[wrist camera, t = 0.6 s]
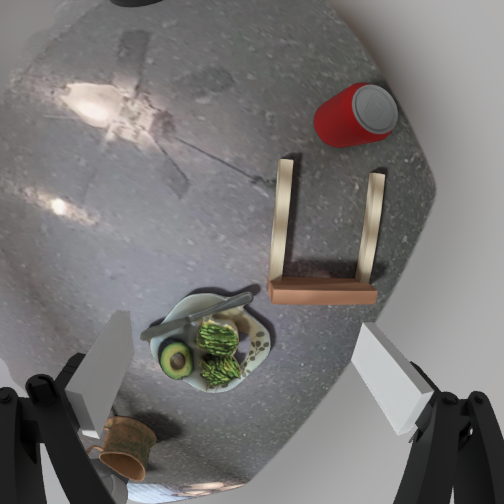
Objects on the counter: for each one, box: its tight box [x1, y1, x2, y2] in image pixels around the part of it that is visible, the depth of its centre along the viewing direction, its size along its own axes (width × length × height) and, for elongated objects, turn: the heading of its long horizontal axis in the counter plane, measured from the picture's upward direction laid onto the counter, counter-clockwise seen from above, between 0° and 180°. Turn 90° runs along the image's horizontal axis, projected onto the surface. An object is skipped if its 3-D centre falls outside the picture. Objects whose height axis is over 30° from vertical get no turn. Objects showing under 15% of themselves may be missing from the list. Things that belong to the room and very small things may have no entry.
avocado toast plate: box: [140, 291, 271, 393], centre depth 40 cm, size 19×18×5 cm
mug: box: [86, 416, 157, 481], centre depth 41 cm, size 12×18×12 cm, turn 40°
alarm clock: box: [90, 459, 129, 504], centre depth 43 cm, size 16×10×18 cm, turn 112°
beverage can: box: [314, 83, 398, 148], centre depth 29 cm, size 7×7×12 cm
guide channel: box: [267, 159, 385, 305], centre depth 37 cm, size 18×15×5 cm
